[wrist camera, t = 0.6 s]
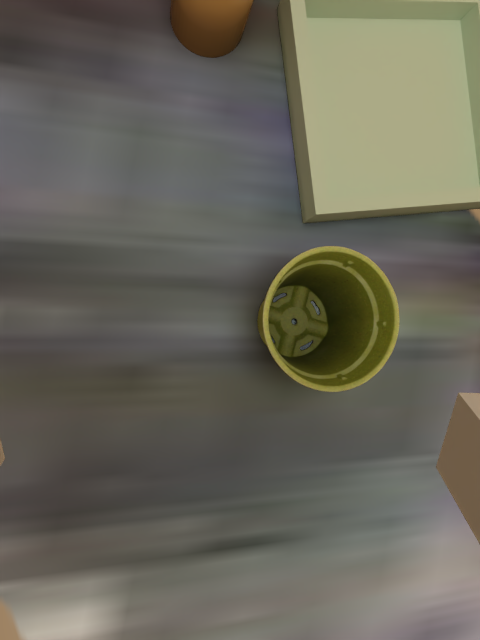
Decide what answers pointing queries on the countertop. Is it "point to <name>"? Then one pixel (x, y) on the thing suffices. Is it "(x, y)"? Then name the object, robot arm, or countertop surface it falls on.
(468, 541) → the countertop surface
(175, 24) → the reagent bottle
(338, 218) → the tray
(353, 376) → the plant pot
